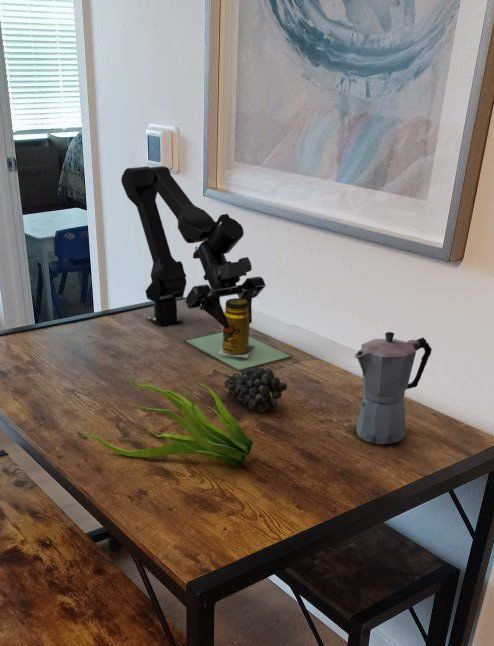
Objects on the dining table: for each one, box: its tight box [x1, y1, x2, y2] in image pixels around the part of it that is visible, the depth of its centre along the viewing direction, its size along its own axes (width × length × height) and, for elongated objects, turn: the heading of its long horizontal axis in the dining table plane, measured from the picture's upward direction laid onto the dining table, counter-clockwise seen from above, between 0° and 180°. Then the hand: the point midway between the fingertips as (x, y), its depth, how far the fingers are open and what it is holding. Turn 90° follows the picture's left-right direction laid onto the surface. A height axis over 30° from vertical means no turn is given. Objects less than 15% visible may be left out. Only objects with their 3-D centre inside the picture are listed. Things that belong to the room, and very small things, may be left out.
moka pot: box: [354, 331, 433, 445], centre depth 127 cm, size 10×15×20 cm, turn 113°
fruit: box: [224, 366, 288, 413], centre depth 142 cm, size 9×8×15 cm
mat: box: [185, 331, 291, 372], centre depth 169 cm, size 22×15×1 cm
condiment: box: [218, 297, 256, 358], centre depth 163 cm, size 7×8×12 cm
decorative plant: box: [65, 365, 254, 468], centre depth 121 cm, size 18×30×15 cm, turn 50°
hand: (238, 325), depth 161 cm, fingers closed on condiment, 6 cm apart
